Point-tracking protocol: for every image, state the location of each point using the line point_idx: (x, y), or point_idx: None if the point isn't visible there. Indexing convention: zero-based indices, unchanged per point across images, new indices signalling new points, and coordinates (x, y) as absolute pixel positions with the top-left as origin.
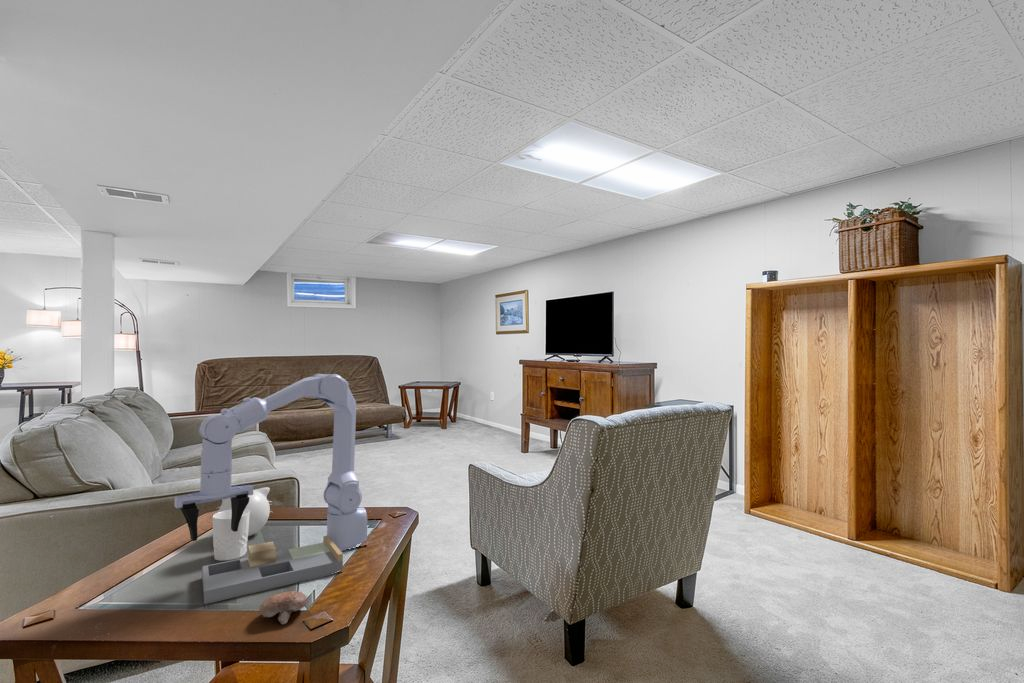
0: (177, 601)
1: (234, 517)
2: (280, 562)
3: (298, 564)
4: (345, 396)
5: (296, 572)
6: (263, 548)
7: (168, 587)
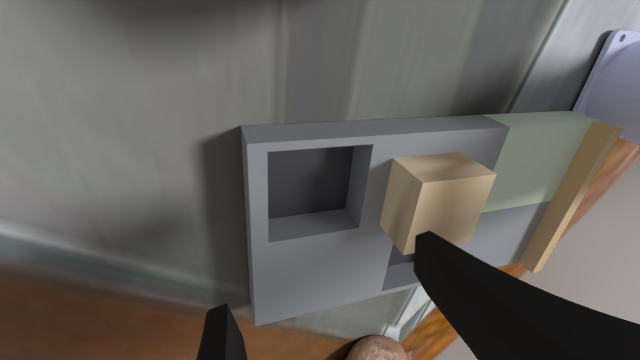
0: (181, 266)
1: (469, 324)
2: None
3: (465, 249)
4: None
5: None
6: (446, 229)
7: (123, 154)
